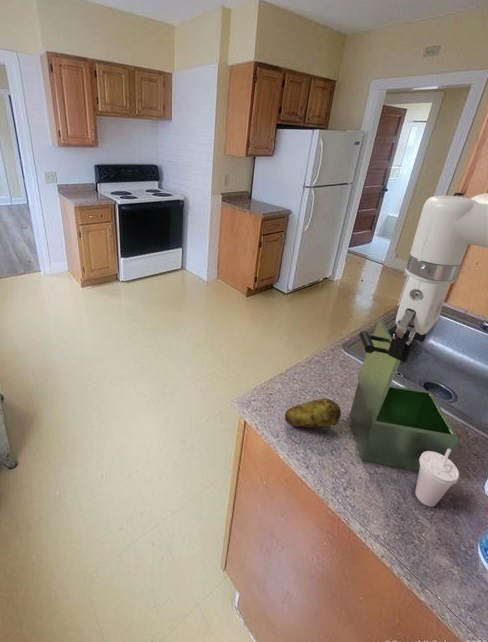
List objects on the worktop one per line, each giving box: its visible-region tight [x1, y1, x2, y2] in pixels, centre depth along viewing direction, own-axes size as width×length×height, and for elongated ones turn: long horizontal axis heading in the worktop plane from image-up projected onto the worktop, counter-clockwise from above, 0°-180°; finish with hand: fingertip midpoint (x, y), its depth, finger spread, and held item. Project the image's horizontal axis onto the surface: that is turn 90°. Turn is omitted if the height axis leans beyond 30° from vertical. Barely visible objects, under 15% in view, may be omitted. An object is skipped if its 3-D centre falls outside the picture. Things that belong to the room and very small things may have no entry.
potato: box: [284, 397, 342, 428], centre depth 82 cm, size 8×13×8 cm, turn 67°
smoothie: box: [414, 449, 460, 508], centre depth 64 cm, size 6×6×14 cm
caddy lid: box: [357, 319, 401, 422], centre depth 72 cm, size 18×14×5 cm
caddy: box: [349, 380, 459, 473], centre depth 76 cm, size 17×14×12 cm
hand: (406, 348), depth 63 cm, fingers open, 9 cm apart
